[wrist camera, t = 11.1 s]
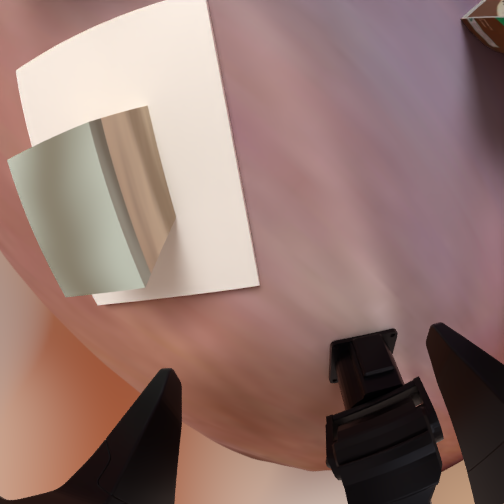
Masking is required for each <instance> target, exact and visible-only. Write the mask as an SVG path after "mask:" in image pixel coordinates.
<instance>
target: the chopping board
mask: <svg viewBox="0 0 504 504" xmlns="http://www.w3.org/2000/svg"><path fill="white" fill-rule="evenodd" d="M16 75H17V81H18V87H19V92H20V98H21V103H22V107H23V112H24V116H25V121H26V125H27V129H28V133H29V137H30V141H31V144H32V147H33V146H35V145H37V144H39V143H41V142H43V141H46V140H48V139H50V138H52V137H54V136H56V135H59V134H61V133H63V132H65V131H68V130H70V129H73V128H75V127H77V126H80V125H82V124H85V123H87V122H90V121H93V120H96V119H100V118H103V117H106V116H110V115H113V114H117V113H120V112H124V111H128V110H131V109H135V108H139V107H143V106H147V105H148V109H149V114H150V118H151V122H152V127H153V131H154V135H155V139H156V143H157V147H158V151H159V155H160V159H161V163H162V167H163V171H164V174H165V178H166V182H167V186H168V189H169V193H170V197H171V200H172V204H173V207H174V211H175V214H176V219H175V221H174V223H173V225H172V228H171V230H170V232H169V234H168V236H167V239H166V241H165V243H164V245H163V247H162V250H161V252H160V254H159V257H158V259H157V261H156V263H155V266H154V268H153V271H152V273H151V275H150V278H149V280H148V282H147V285H146V287H145V288H140V289H132V290H124V291H116V292H108V293H99V294H92V296H93V298H94V299H95V301H96V303H97V305H105V304H115V303H124V302H134V301H143V300H152V299H161V298H169V297H178V296H186V295H194V294H202V293H209V292H217V291H225V290H232V289H239V288H246V287H253V286H260V284H259V273H258V268H257V262H256V257H255V252H254V246H253V241H252V235H251V230H250V225H249V219H248V214H247V208H246V203H245V198H244V192H243V187H242V182H241V176H240V171H239V166H238V160H237V155H236V149H235V144H234V139H233V133H232V128H231V123H230V117H229V112H228V107H227V102H226V96H225V91H224V86H223V80H222V75H221V70H220V64H219V59H218V54H217V49H216V43H215V38H214V33H213V28H212V22H211V17H210V12H209V7H208V1H207V0H166V1H162V2H159V3H156V4H152V5H149V6H146V7H143V8H140V9H137V10H135V11H132V12H129V13H126V14H124V15H121V16H118V17H116V18H113V19H111V20H109V21H106V22H104V23H101V24H99V25H97V26H95V27H92V28H90V29H88V30H86V31H84V32H82V33H80V34H78V35H76V36H74V37H72V38H70V39H68V40H66V41H64V42H62V43H60V44H58V45H57V46H55V47H53V48H51V49H50V50H48V51H46V52H44V53H43V54H41V55H39V56H38V57H36V58H34V59H33V60H31V61H30V62H28V63H27V64H25V65H23V66H22V67H20V68H19V69H17V70H16Z"/></svg>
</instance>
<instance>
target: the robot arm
mask: <svg viewBox="0 0 504 504" xmlns="http://www.w3.org/2000/svg"><path fill="white" fill-rule="evenodd" d="M396 338H397V331H396V329H389V330H385V331H380V332H376V333H371V334H367V335H362V336H357V337H352V338H347V339H342V340H337V341H334V342H332V343H331V350H330V373H329V380H330V383H337V382H339V386H340V390H341V394H342V398H343V402H344V406H345V411H343V412H340V413H338V414H335V415H329V416H327V417H326V421H327V424H326V455H327V457H326V465H327V467H329V468H331V469H332V472H333V474H334V475H335V477H336V478H337V479H338V480H342V482H343V486H344V488H345V492H346V497H347V501H348V504H432V503H431V498H432V495H433V492H434V490H435V487H436V485H438V483H439V479H440V475H441V468H442V461H441V457H440V454H439V451H438V447H437V444H436V443H437V442H439V441H441V440H443V439H444V438H443V433H442V429H441V426H440V423H439V420H438V418H437V415H436V412H435V410H434V408H433V405H432V403H431V401H430V399H429V397H428V395H427V392H426V390H425V388H424V386H423V384H422V382H421V380H420V378H419V376H418V377H416V378H414V379H413V380H412V381H410V382H408V383H406V384H404V382H403V379H402V377H401V374H400V372H399V370H398V367H397V365H396V362H395V360H394V358H393V355H392V354H393V350H394V346H395V342H396ZM426 346H427V350H428V353H429V356H430V360H431V363H432V366H433V370H434V374H435V377H436V380H437V383H438V386H439V389H440V391H441V394H442V396H443V399H444V402H445V404H446V407H447V410H448V412H449V415H450V418H451V421H452V424H453V427H454V430H455V433H456V436H457V439H458V442H459V445H460V448H461V452H462V455H463V459H464V462H465V466H466V469H467V472H468V477H469V481H470V485H471V489H472V493H473V497H474V502H475V504H504V365H503V364H502V363H501V362H499V361H498V360H496V359H495V358H493V357H492V356H491V355H489V354H488V353H486V352H485V351H483V350H482V349H481V348H479V347H478V346H476V345H475V344H473V343H472V342H470V341H469V340H467V339H466V338H464V337H463V336H462V335H460V334H459V333H457V332H456V331H454V330H453V329H451V328H450V327H448V326H447V325H445V324H444V323H441V322H439V323H436V324H433V325H431V326H430V329H429V333H428V336H427V339H426ZM419 404H421V405H419ZM417 405H419V406H417ZM415 406H417V407H415ZM181 426H182V386H181V382H180V380H179V378H178V377H177V375H176V373H175V371H174V370H173V369H172V368H163V369H161V370H159V372H158V373H157V374H156V375H155V377H154V378H153V379H152V381H151V382H150V383H149V384H148V386H147V387H146V388H145V389H144V391H143V392H142V393H141V395H140V396H139V397H138V399H137V400H136V401H135V402H134V404H133V405H132V406H131V407H130V409H129V410H128V411H127V413H126V414H125V415H124V416H123V418H122V419H121V420H120V421H119V423H118V424H117V425H116V427H115V428H114V429H113V430H112V432H111V433H110V434H109V435H108V437H107V438H106V440H104V442H103V443H102V444H101V445H100V447H99V448H98V449H97V450H96V452H95V453H94V454H93V455H92V456H91V457H90V459H89V460H88V461H87V462H86V463H85V464H84V465H83V466H82V467H81V468H80V469H79V470H78V471H77V472H76V473H75V474H74V475H73V476H72V477H71V478H70V479H69V480H68V481H67V482H66V483H65V484H64V485H62V486H61V487H60V488H58V489H56V490H54V491H50V492H47V493H43V494H39V495H35V496H31V497H27V498H23V499H18V500H6V499H4V498H3V497H1V496H0V504H174V501H175V488H176V476H177V465H178V455H179V445H180V436H181Z"/></svg>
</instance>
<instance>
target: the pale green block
mask: <svg viewBox="0 0 504 504" xmlns="http://www.w3.org/2000/svg"><path fill="white" fill-rule="evenodd" d="M7 161H8V164H9V168H10V171H11V174H12V177H13V180H14V183H15V186H16V189H17V192H18V194H19V197H20V200H21V203H22V205H23V208H24V210H25V213H26V215H27V218H28V220H29V223H30V225H31V228H32V230H33V232H34V235H35V237H36V239H37V241H38V244H39V246H40V248H41V250H42V252H43V254H44V256H45V258H46V260H47V262H48V265H49V267H50V269H51V270H52V272H53V274H54V276H55V278H56V280H57V282H58V284H59V286H60V288H61V289H62V291H63V293H64V295H65V297H73V296H82V295H90V294H99V293H108V292H116V291H124V290H132V289H140V288H145V287H146V285H147V282H148V280H149V278H150V275H151V273H152V271H153V268H154V266H155V263H156V261H157V259H158V257H159V254H160V252H161V250H162V247H163V245H164V243H165V241H166V239H167V236H168V234H169V232H170V230H171V228H172V225H173V223H174V221H175V219H176V214H175V211H174V207H173V204H172V200H171V197H170V193H169V189H168V186H167V182H166V178H165V174H164V171H163V167H162V163H161V159H160V155H159V151H158V147H157V143H156V139H155V135H154V131H153V127H152V122H151V118H150V114H149V109H148V105H147V106H143V107H139V108H135V109H131V110H128V111H124V112H120V113H117V114H113V115H110V116H106V117H103V118H100V119H96V120H93V121H90V122H87V123H85V124H82V125H80V126H77V127H75V128H73V129H70V130H68V131H65V132H63V133H61V134H59V135H56V136H54V137H52V138H50V139H48V140H46V141H43V142H41V143H39V144H37V145H35V146H33V147H31V148H29V149H27V150H25V151H23V152H21V153H20V154H18V155H16V156H14V157H12V158H10V159H8V160H7Z"/></svg>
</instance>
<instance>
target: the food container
mask: <svg viewBox="0 0 504 504" xmlns="http://www.w3.org/2000/svg"><path fill="white" fill-rule="evenodd" d="M461 20H462V21H463V23H464V24H465V25H466V27H467V28H468V29H469V31H470V32H471V33H472V34H473V35H475V36H476V37H477V38H478V39H479V40H480V41H481V42H482V43H483V44H484V45H486V46H487V47H489V48H491V49H492V50H494V51H496V52H500V53H504V0H482V1H481V2H479V3H478V4H477V5H476V6H475V7H474V8H472V9H471V10H470V11H469V12H468V13H467V14H466V15H464V16H463V17H462V18H461Z"/></svg>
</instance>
